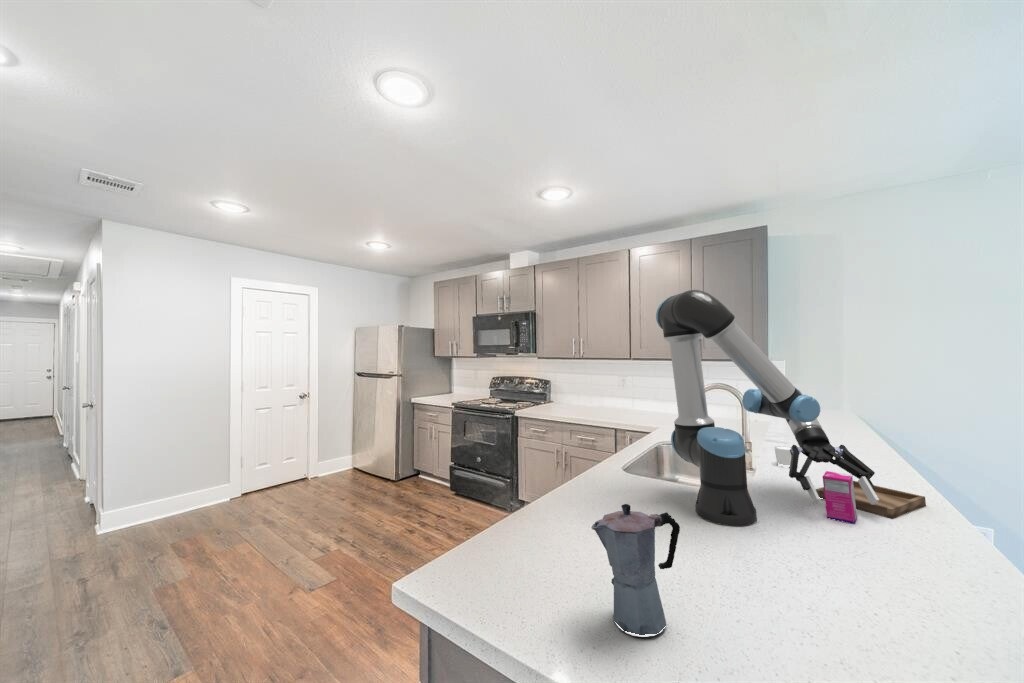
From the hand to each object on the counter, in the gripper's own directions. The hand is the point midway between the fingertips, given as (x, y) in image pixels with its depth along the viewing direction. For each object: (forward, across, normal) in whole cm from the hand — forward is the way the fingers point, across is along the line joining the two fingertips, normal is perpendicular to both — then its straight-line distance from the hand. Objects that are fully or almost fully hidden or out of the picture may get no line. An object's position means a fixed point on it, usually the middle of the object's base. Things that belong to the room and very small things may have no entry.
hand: (845, 502), depth 102 cm
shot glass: (-33, -10, -40) cm, 53 cm away
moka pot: (+36, +58, +28) cm, 74 cm away
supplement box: (+2, 0, -5) cm, 6 cm away
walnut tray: (-7, -14, -14) cm, 21 cm away
